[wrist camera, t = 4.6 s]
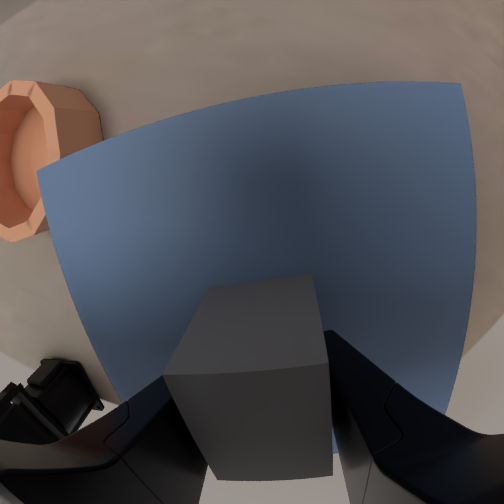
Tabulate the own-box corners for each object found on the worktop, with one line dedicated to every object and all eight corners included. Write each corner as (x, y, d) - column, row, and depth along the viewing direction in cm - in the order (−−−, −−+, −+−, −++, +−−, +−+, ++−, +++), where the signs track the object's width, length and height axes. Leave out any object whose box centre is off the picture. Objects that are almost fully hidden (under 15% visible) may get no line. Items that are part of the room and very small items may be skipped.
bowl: (117, 206, 20) (75, 222, 15) (25, 234, 21) (-14, 251, 17) (93, 65, 17) (50, 51, 12) (5, 120, 18) (-35, 121, 14)
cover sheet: (435, 417, 11) (464, 493, 6) (159, 443, 13) (130, 513, 9) (448, 87, 7) (549, 59, 2) (50, 168, 9) (-53, 190, 5)
